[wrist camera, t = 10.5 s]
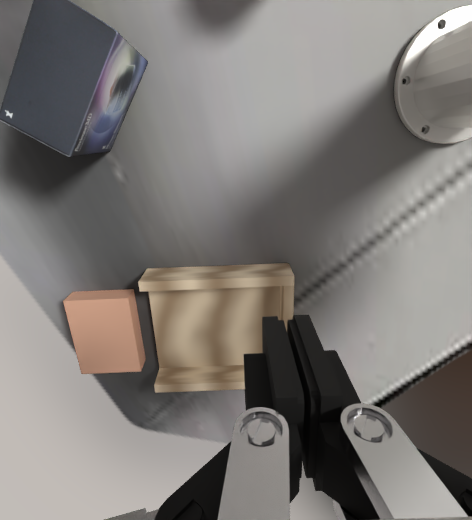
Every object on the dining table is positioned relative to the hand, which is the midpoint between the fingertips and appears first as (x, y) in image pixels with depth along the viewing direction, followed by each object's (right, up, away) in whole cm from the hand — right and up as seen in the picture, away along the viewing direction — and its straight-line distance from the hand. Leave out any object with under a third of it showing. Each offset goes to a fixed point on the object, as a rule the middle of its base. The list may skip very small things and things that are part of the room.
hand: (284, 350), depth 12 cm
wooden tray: (-4, -5, +33) cm, 33 cm away
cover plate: (-19, -6, +33) cm, 39 cm away
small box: (-16, +21, +23) cm, 35 cm away
